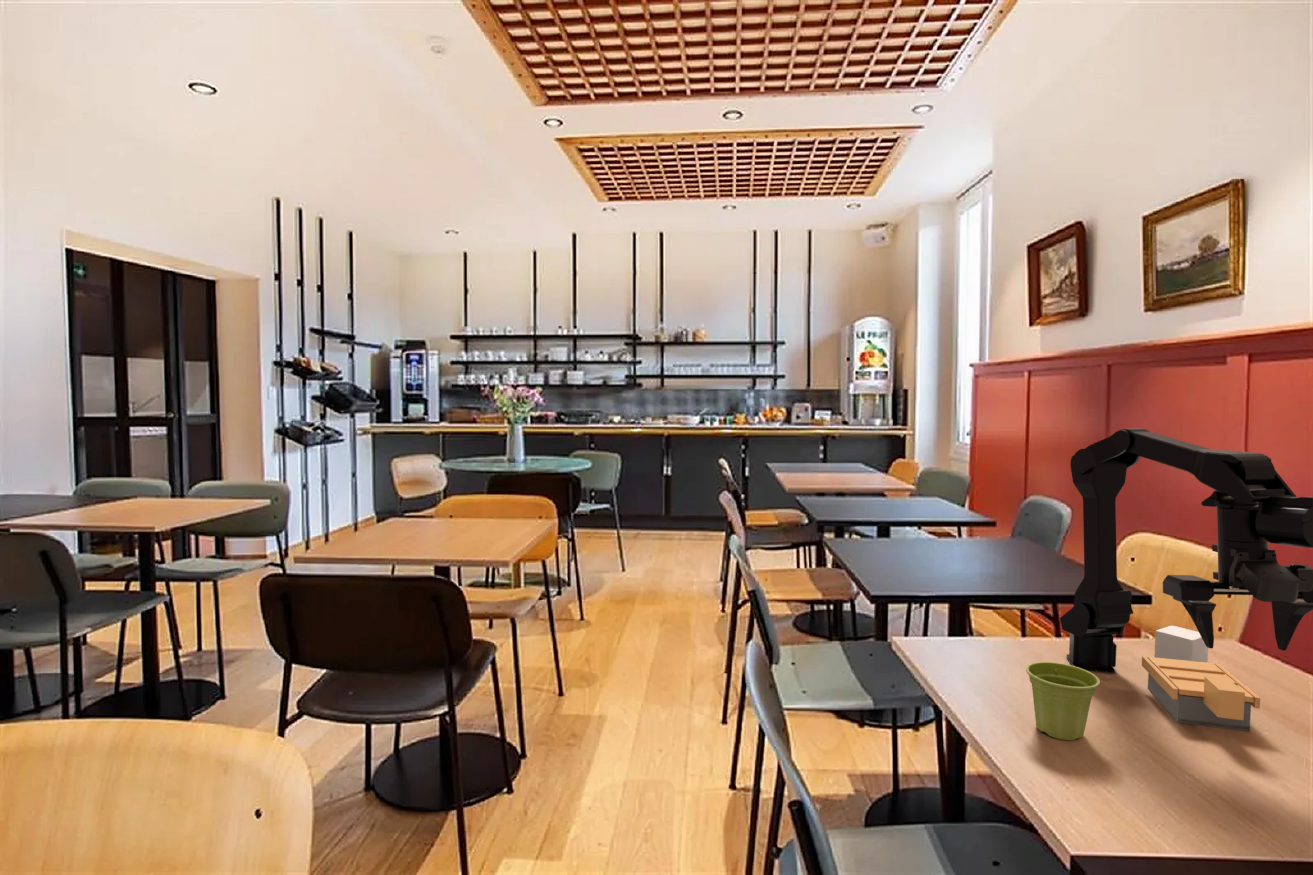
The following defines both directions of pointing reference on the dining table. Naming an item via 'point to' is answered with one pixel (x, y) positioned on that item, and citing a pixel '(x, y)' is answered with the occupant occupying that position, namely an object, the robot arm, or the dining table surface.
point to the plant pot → (1061, 698)
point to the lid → (1202, 684)
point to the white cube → (1180, 644)
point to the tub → (1196, 709)
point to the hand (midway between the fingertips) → (1245, 648)
